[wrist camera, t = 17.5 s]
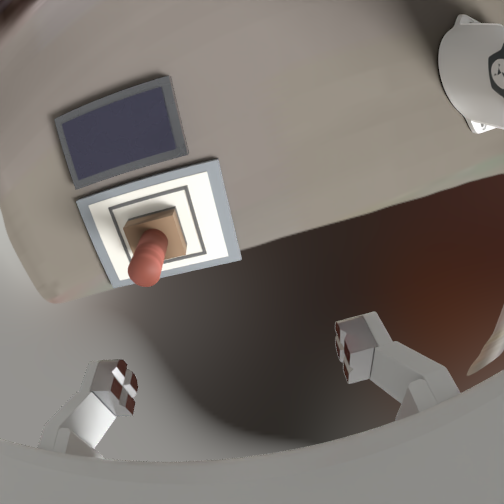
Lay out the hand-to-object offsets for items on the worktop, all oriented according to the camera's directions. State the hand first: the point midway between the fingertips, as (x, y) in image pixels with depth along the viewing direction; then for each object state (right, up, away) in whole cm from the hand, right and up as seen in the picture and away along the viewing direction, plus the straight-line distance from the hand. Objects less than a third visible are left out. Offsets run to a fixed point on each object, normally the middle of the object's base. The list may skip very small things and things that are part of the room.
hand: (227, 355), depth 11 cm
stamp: (-10, +6, +25) cm, 28 cm away
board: (-10, +7, +26) cm, 28 cm away
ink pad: (-14, +17, +19) cm, 29 cm away
